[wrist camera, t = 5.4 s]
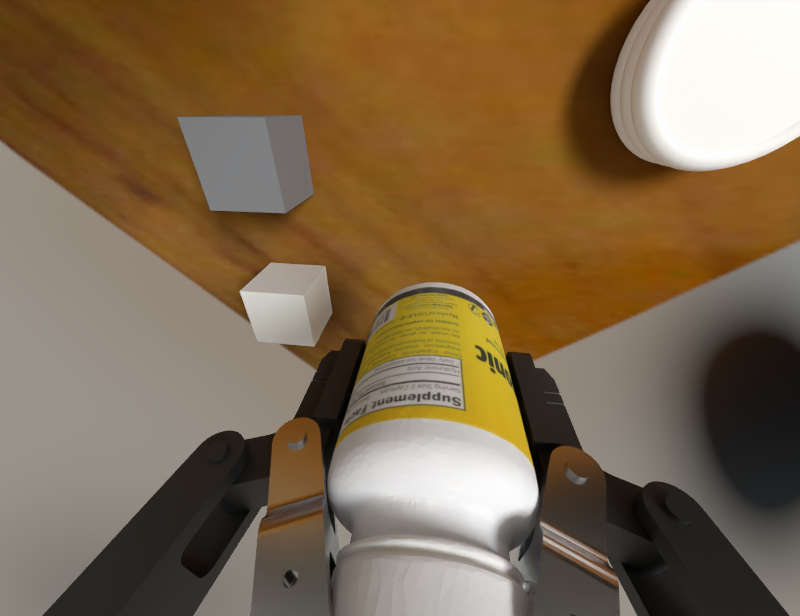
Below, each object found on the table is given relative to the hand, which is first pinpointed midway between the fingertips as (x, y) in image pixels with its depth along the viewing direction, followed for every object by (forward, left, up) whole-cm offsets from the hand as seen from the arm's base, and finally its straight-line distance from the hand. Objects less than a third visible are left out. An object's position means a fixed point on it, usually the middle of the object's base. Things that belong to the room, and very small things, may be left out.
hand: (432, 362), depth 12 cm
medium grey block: (-5, -12, -14) cm, 19 cm away
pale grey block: (+6, -12, -14) cm, 19 cm away
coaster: (-10, +14, -14) cm, 23 cm away
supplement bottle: (0, 0, -2) cm, 2 cm away
